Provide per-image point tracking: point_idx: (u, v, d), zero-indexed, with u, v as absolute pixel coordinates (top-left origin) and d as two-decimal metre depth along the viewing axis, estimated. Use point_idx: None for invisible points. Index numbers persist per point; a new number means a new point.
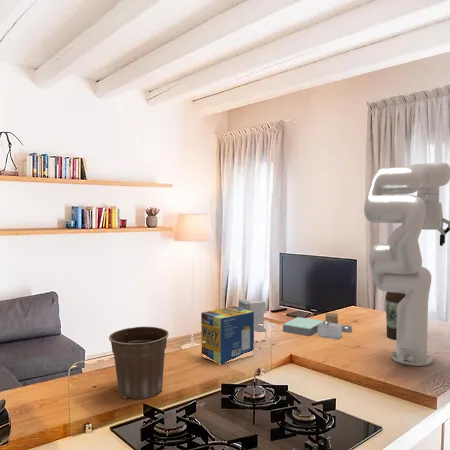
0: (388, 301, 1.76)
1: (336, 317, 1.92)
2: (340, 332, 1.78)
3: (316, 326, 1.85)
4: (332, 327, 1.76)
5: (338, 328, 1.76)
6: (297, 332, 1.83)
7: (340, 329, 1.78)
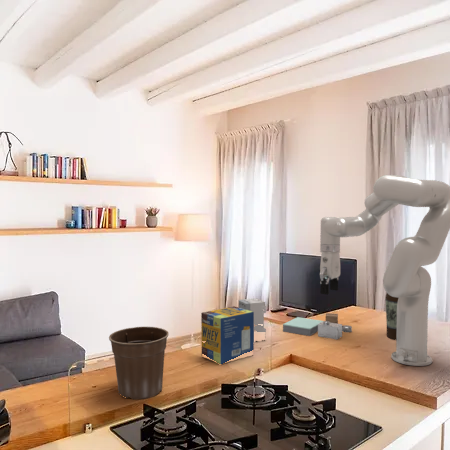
0: (388, 301, 1.76)
1: (336, 317, 1.92)
2: (340, 332, 1.78)
3: (316, 326, 1.85)
4: (332, 327, 1.76)
5: (338, 328, 1.76)
6: (297, 332, 1.83)
7: (340, 329, 1.78)
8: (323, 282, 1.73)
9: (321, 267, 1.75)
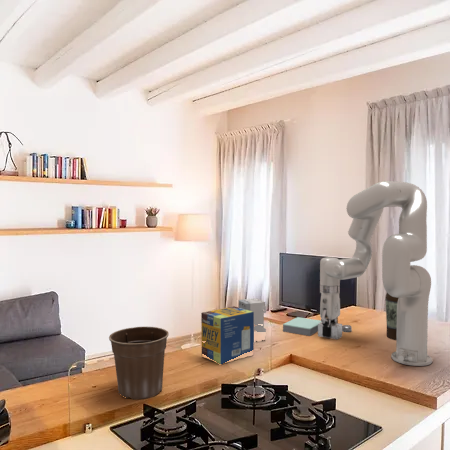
0: (388, 301, 1.76)
1: None
2: (340, 332, 1.78)
3: (316, 326, 1.85)
4: (332, 327, 1.76)
5: (338, 328, 1.76)
6: (297, 332, 1.83)
7: (340, 329, 1.78)
8: (325, 325, 1.76)
9: (321, 308, 1.76)
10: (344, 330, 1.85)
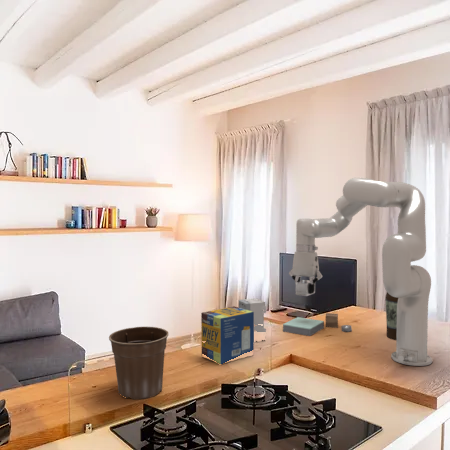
0: (388, 301, 1.76)
1: (336, 317, 1.92)
2: None
3: (316, 326, 1.85)
4: None
5: None
6: (297, 332, 1.83)
7: None
8: (315, 282, 1.85)
9: (314, 266, 1.84)
10: (347, 330, 1.85)
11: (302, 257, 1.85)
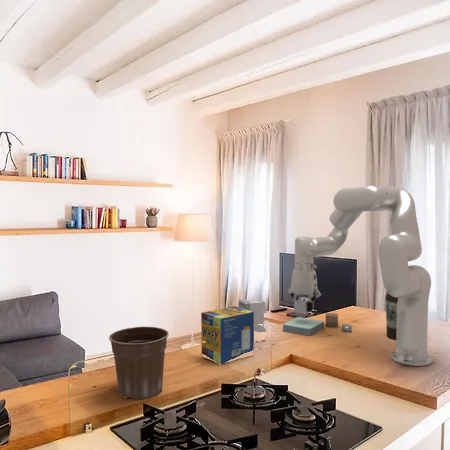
0: (388, 301, 1.76)
1: (336, 317, 1.92)
2: None
3: (316, 326, 1.85)
4: None
5: None
6: (297, 332, 1.83)
7: None
8: None
9: (313, 285, 1.84)
10: (350, 330, 1.85)
11: (300, 275, 1.86)
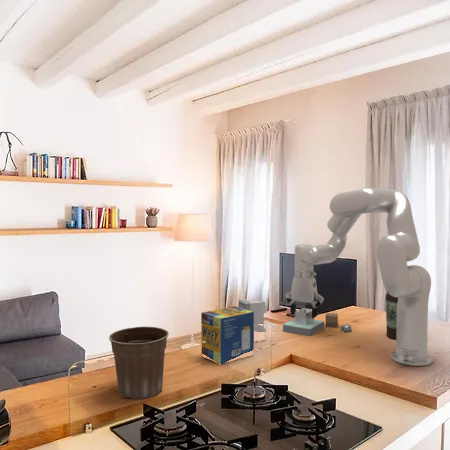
0: (388, 301, 1.76)
1: (336, 317, 1.92)
2: None
3: (316, 326, 1.85)
4: None
5: None
6: (297, 332, 1.83)
7: None
8: (318, 306, 1.85)
9: (313, 292, 1.85)
10: None
11: (300, 283, 1.86)
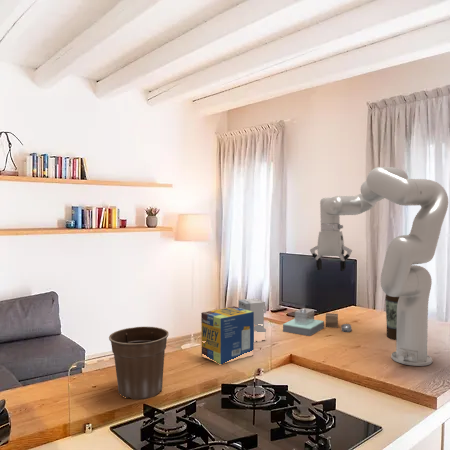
0: (388, 301, 1.76)
1: (336, 317, 1.92)
2: None
3: (316, 326, 1.85)
4: (312, 311, 1.89)
5: None
6: (297, 332, 1.83)
7: None
8: (346, 258, 1.81)
9: (341, 245, 1.81)
10: None
11: (327, 236, 1.83)
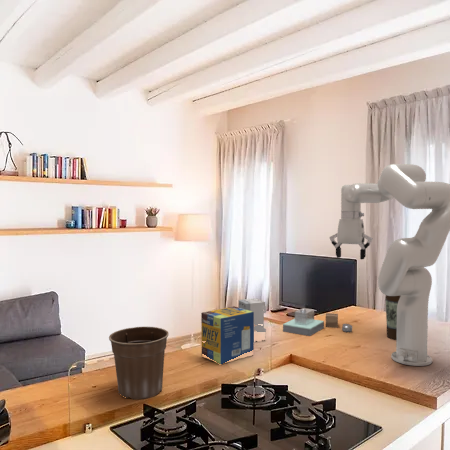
0: (388, 301, 1.76)
1: (336, 317, 1.92)
2: None
3: (316, 326, 1.85)
4: (312, 311, 1.89)
5: None
6: (297, 332, 1.83)
7: None
8: (366, 247, 1.79)
9: (361, 233, 1.79)
10: (344, 329, 1.86)
11: (348, 224, 1.80)
